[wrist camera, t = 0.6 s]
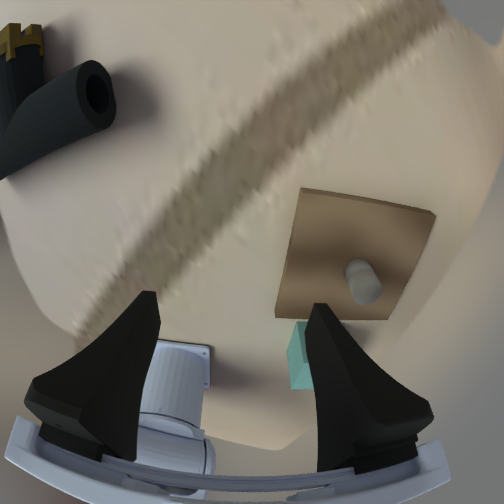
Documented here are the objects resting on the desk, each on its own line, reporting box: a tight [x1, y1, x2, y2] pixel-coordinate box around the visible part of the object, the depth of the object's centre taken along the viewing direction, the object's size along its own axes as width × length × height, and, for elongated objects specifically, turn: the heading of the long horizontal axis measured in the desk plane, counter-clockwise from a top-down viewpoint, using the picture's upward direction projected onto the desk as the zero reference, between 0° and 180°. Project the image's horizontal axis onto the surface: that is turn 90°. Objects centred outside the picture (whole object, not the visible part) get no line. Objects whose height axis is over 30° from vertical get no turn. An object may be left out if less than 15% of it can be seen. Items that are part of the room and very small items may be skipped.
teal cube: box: [287, 322, 344, 390], centre depth 26 cm, size 5×5×5 cm
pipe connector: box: [0, 23, 116, 180], centre depth 12 cm, size 12×5×15 cm
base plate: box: [275, 188, 436, 320], centre depth 21 cm, size 12×12×4 cm
